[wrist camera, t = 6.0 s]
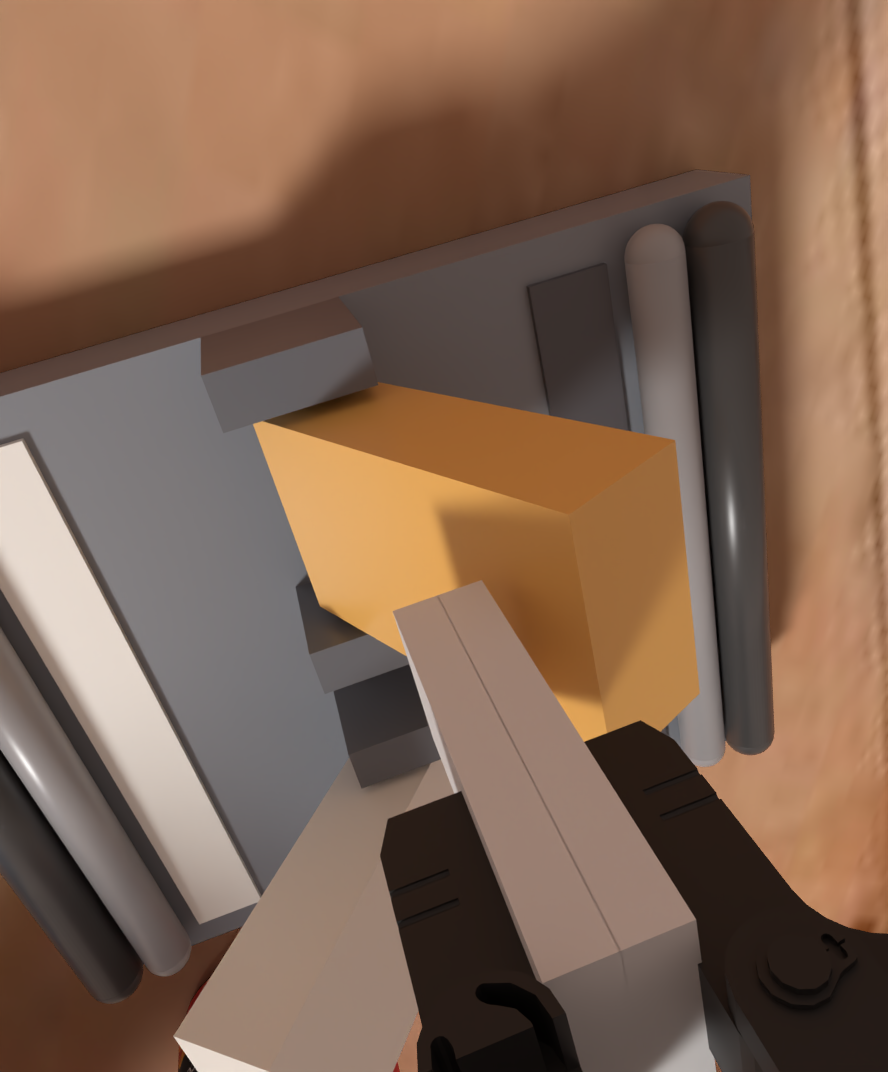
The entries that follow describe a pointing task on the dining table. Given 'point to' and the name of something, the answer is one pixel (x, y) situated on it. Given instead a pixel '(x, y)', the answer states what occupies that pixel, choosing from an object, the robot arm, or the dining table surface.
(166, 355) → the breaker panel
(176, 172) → the dining table surface
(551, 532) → the block
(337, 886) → the block
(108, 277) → the dining table surface
